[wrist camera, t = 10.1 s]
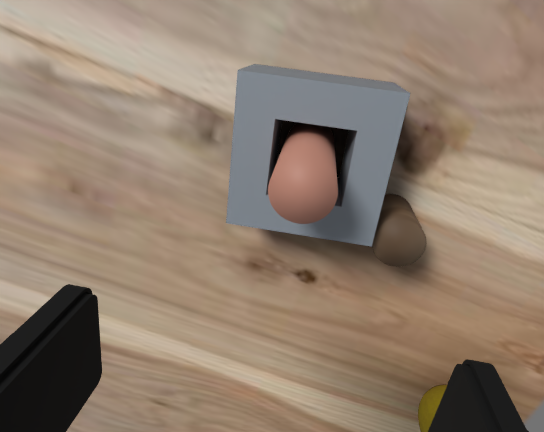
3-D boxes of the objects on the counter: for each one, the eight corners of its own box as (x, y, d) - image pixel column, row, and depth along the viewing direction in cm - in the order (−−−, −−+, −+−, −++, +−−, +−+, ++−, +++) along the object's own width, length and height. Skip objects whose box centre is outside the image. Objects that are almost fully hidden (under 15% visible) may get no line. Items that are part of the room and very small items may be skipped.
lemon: (401, 378, 39) (417, 456, 32) (456, 358, 37) (488, 436, 30) (425, 415, 40) (447, 498, 33) (480, 398, 39) (516, 481, 31)
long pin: (338, 121, 30) (344, 164, 20) (329, 167, 31) (331, 228, 21) (290, 114, 30) (272, 153, 20) (283, 160, 31) (264, 218, 22)
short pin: (417, 198, 31) (432, 224, 27) (405, 238, 33) (418, 270, 28) (371, 190, 32) (379, 216, 27) (361, 231, 33) (367, 262, 29)
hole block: (394, 82, 28) (410, 93, 23) (364, 211, 32) (371, 246, 27) (254, 63, 29) (237, 70, 23) (242, 192, 33) (226, 223, 28)
